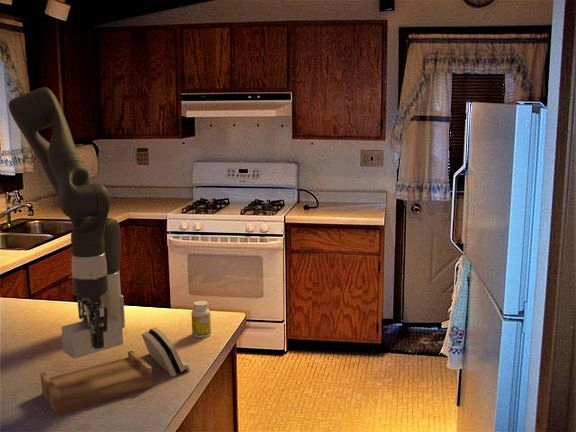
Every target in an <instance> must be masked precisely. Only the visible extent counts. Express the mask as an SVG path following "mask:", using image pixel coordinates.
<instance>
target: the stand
mask: <svg viewBox="0 0 576 432" xmlns="http://www.w3.org/2000/svg"><path fill="white" fill-rule="evenodd" d="M127 354H128V355H127V357H125V358H121V359H116V360H113V361H108V362H105V363H101V364H97V365H93V366H90V367H85V368H82V369H78V370H74V371H70V372H66V373H63V374H59V375H54V376H51V377H49V375H48V374H47V373H46V372H43V373H40V381H41V383H40V384H41V393H42V396H43V397H44V398H45V400H46V401H47V402H48V404H49V405H50V407H51V408H52V410H53V411H54V413H55V414H56V415H57V416H60V415H63V414H67V413H70V412H73V411H74V412H75V411H76V410H80V409H84V408H87V407H90V406H93V405H97V404H101V403H104V402H108V401H111V400H113V399H118V398H120V397H121V398H122V397H124V396H127V395H128V396H129V395H130V394H133V393H137V392H141V391H143V390H144V391H145V390H147V389H151V388H153V387H154V384H153V367H152V366H151V365H150V364H148V363H147V362H146V361H145V360H144V359H142V358H141V357H140V356H139V355H138V354H136V353H135V352H134V351H133V350H129V351H127Z"/></svg>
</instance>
